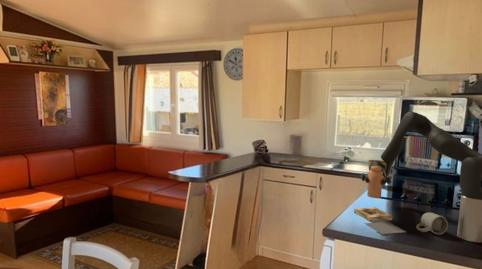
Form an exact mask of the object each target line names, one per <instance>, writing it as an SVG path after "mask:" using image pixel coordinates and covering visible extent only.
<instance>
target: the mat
mask: <svg viewBox="0 0 482 269" xmlns="http://www.w3.org/2000/svg"><path fill="white" fill-rule="evenodd" d="M363 224H364V225H366V226H367V227H369V228H371V229H372V230H374V231H375V232H376V233H377V234H379V235H381V236H389V235H392V234H401V233H403V234H404V233H407V231H406V230H404V229H402V228H401V227H398V226H397V225H395V224H393V223H391V222H389V221H375V222H364V223H363Z"/></svg>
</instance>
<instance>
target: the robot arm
mask: <svg viewBox="0 0 482 269" xmlns="http://www.w3.org/2000/svg"><path fill="white" fill-rule="evenodd" d="M409 131H412V132H414V133H417V134H420V135H421V136H422V137H424V138H426V139H427V141H428V143H429V145H430V146H431V147H432V148H433V149H434V150H435V151H437V152H438V153H439V154H441V155H443V156H445V157H448V158H450V159H452V160H455V161H457V162H460V163H461V164H460V172H459V187H460V191H461V192H460V204H459V213H458V222H457V232H456V233H457V234H456V236H457V237H458V238H460V239H462V240H465V241H467V242H472V243H482V153H481V152H478V151H476V150H475V149H473V148H471V147H470V146H468V145H467V144H466V143H465V142H463V141H461V140H460V139H458V138H457V137H455V136H454V135H452V134H451V133H450V132H448V131H446V130H444V129H443V128H441V127H438V125H436V124H435V123H433V122H432V121H431V120H430V119H429V118H428V117H426V115H423V114H420V113H419V112H415V111H408V112H406V113H405V114H404V115H403V117H402V118H401V120H400V122H399V124H398V126H397V127H396V129H395V133H394V135H393V136H392V138H391V141H390V142H389V144H388V145H387V146H386V148H385V149H384V150H383V152H382V154H381V155H380V159H381V161H384V162H385V163H386V166H385V165H384V164H382V163H380V162H379V161H373V162H372V163H371V164H370V166H368V171H369V170H371V166H379V167H381V171H383V177H382V185H383V184H385V183H386V184H388V185H390V184H391V183H392V180H393V176H390V175H389V172H390V169H391V170H392V168H391V166H392V167H393V164H394V162H395V161H396V160H397V158H398V157H399V156H400V154H401V152H402V148H403V142H404V138H405V137H406V136H405V135H406V134H407V133H408V132H409ZM390 173H391V172H390ZM388 175H389V177H388V178H386V177H387V176H388ZM368 178H369V173H368V174H365V173H361V182H365V183H366V184H368ZM386 184H385V185H386Z"/></svg>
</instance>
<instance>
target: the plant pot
mask: <svg viewBox="0 0 482 269" xmlns="http://www.w3.org/2000/svg"><path fill="white" fill-rule="evenodd" d="M373 161H379V162H380V163H382V164H384V165H385V166H386V163H385V162H384V161H383V160H382V159H381V160H379V159H368V162H367V163H368V167H369V166H370V164H371V163H372V162H373ZM392 168H393V165H392V166H391V169H390V172H389V175H388V176H387V177H386V178H388V177H390V174H391V172H392ZM386 184H387V183H385V184H383V185H382V188H384V187H385V185H386Z"/></svg>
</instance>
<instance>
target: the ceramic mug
mask: <svg viewBox="0 0 482 269" xmlns="http://www.w3.org/2000/svg"><path fill="white" fill-rule="evenodd" d="M448 223H449V222H448V220H447V219H446V217H445V216H443V215H440V214H437V213H434V212H425V213H423V214H422V216H421V218H420V222H419V223H418V224H416V229H417V230H418V231H420V232H421V233H427V232H431V233H433V234H435V235H443V234H444V233H446V231H447V230H448V227H449V224H448ZM421 227H423V228H421Z"/></svg>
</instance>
